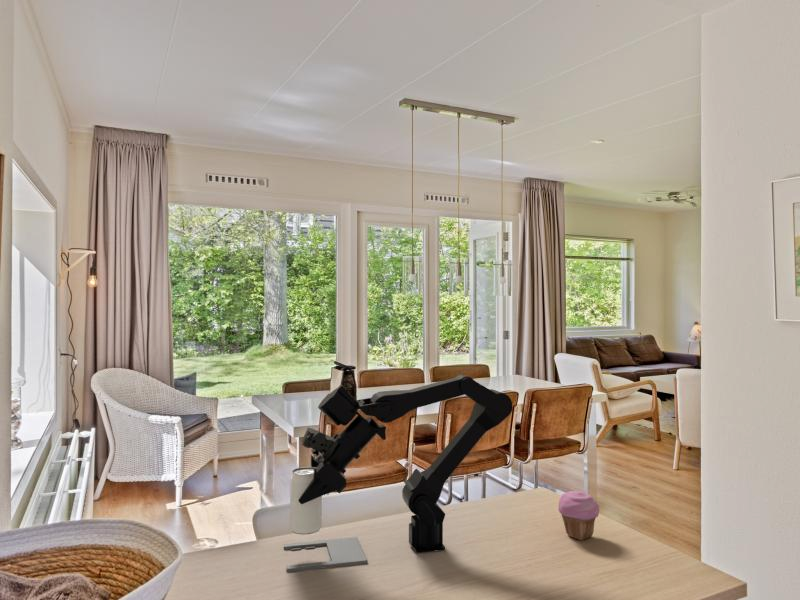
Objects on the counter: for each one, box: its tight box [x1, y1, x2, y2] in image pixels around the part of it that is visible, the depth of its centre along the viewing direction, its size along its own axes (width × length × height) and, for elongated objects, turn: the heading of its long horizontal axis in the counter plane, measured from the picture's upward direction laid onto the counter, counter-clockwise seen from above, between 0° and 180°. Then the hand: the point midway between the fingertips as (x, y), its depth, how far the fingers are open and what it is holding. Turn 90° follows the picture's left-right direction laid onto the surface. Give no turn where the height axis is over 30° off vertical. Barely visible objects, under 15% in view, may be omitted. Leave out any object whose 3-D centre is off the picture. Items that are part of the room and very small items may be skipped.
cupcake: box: [557, 490, 600, 541], centre depth 127 cm, size 9×9×10 cm
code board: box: [283, 536, 369, 573], centre depth 117 cm, size 16×12×1 cm
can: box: [289, 466, 323, 536], centre depth 116 cm, size 6×6×12 cm
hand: (299, 497), depth 116 cm, fingers closed on can, 6 cm apart
